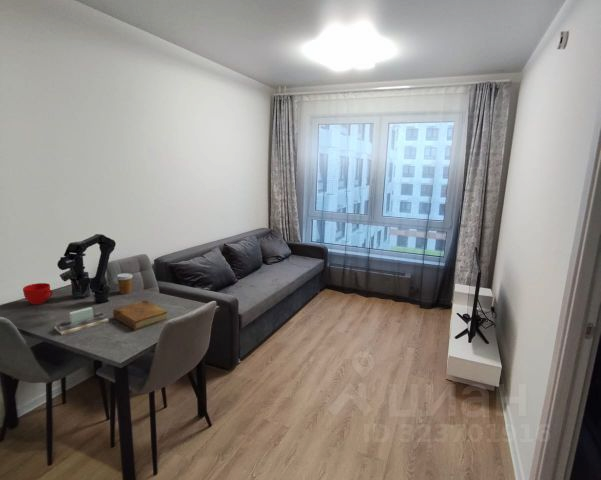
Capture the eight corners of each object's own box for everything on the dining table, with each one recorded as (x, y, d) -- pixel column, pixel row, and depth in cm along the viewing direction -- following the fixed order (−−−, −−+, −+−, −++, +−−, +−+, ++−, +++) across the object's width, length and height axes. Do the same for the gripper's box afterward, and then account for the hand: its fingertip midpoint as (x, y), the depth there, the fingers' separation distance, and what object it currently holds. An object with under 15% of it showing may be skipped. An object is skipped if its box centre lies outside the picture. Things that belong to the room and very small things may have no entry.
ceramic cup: (43, 308, 203) (41, 292, 201) (18, 305, 206) (16, 288, 204) (62, 300, 215) (60, 285, 213) (39, 297, 218) (37, 282, 216)
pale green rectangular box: (91, 319, 190) (90, 307, 188) (93, 320, 188) (92, 308, 187) (70, 325, 182) (69, 312, 181) (72, 326, 180) (71, 314, 179)
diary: (113, 319, 195) (112, 309, 194) (146, 309, 210) (145, 300, 208) (134, 331, 181) (133, 321, 180) (167, 320, 196) (167, 310, 195)
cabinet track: (100, 315, 197) (100, 310, 196) (108, 321, 191) (108, 316, 190) (55, 328, 180) (54, 323, 179) (62, 334, 174) (61, 329, 173)
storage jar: (73, 294, 225) (71, 272, 222) (91, 293, 229) (89, 271, 226) (71, 300, 216) (68, 276, 213) (89, 298, 221) (87, 275, 218)
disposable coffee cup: (120, 289, 237) (119, 272, 235) (135, 289, 239) (134, 272, 236) (115, 294, 228) (113, 277, 226) (130, 294, 229) (129, 277, 227)
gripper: (54, 264, 195) (57, 291, 198) (67, 271, 183) (69, 299, 186) (77, 260, 203) (79, 286, 206) (90, 267, 192) (92, 294, 195)
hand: (79, 291), depth 198 cm, fingers open, 9 cm apart
